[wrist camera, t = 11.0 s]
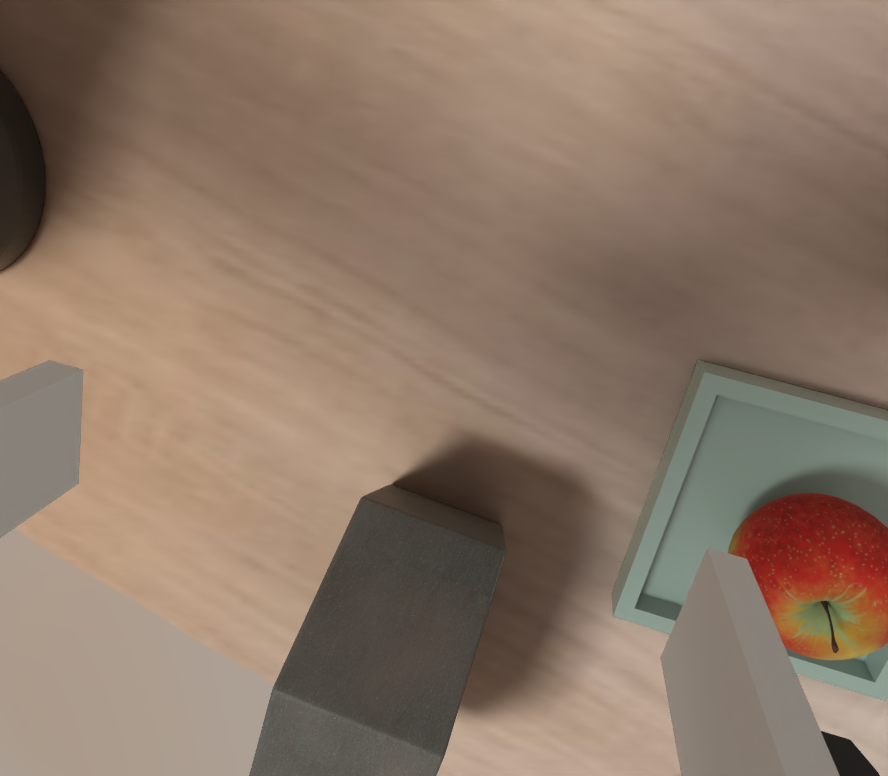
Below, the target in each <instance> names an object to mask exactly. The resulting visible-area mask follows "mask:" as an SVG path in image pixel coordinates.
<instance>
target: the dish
mask: <svg viewBox="0 0 888 776" xmlns="http://www.w3.org/2000/svg"><path fill="white" fill-rule="evenodd" d="M801 493H818V494H825V495H830V496H834V497H838V498H841V499H843V500H846V501H848V502H851V503H853V504H855V505H857V506H859V507H861V508H862V509H864V510H865V511H867V512H869V513H870V514H872V515H873V516H875V517H876V518H877V519H878V520H879V521H880V522H882V523H883V524H884V525H885V526H886V527H887V528H888V410H885V409H881V408H877V407H874V406H870V405H866V404H862V403H859V402H855V401H851V400H847V399H844V398H840V397H836V396H832V395H829V394H825V393H821V392H817V391H814V390H810V389H806V388H802V387H798V386H795V385H791V384H787V383H783V382H780V381H776V380H772V379H768V378H765V377H761V376H757V375H753V374H750V373H746V372H742V371H738V370H734V369H731V368H727V367H723V366H719V365H716V364H712V363H708V362H704V361H701V360H698V361H697V364H696V366H695V369H694V372H693V374H692V377H691V380H690V383H689V385H688V388H687V391H686V393H685V396H684V399H683V402H682V404H681V407H680V410H679V412H678V415H677V418H676V421H675V423H674V426H673V429H672V431H671V434H670V437H669V440H668V442H667V445H666V448H665V450H664V453H663V456H662V459H661V461H660V464H659V467H658V469H657V472H656V475H655V478H654V480H653V483H652V486H651V488H650V491H649V494H648V497H647V499H646V502H645V505H644V508H643V510H642V513H641V516H640V518H639V521H638V524H637V527H636V529H635V532H634V535H633V537H632V540H631V543H630V546H629V548H628V551H627V554H626V556H625V559H624V562H623V565H622V567H621V570H620V573H619V575H618V578H617V581H616V584H615V586H614V589H613V592H612V609H613V617H616V618H619V619H622V620H625V621H628V622H632V623H635V624H638V625H641V626H645V627H648V628H651V629H654V630H657V631H661V632H664V633H667V634H671V632H672V630H673V627H674V625H675V623H676V620H677V618H678V616H679V613H680V611H681V609H682V606H683V604H684V602H685V599H686V597H687V595H688V592H689V590H690V588H691V585H692V583H693V581H694V578H695V576H696V574H697V571H698V569H699V567H700V564H701V562H702V560H703V557H704V555H705V553H706V550H707V548H711V549H714V550H718V551H721V552H725V553H728V550H729V546H730V543H731V540H732V537H733V535H734V533H735V531H736V530H737V528H738V527H739V526H740V524H741V523H742V522H743V521H744V520H745V519H746V518H747V517H748V516H749V515H750V514H751V513H753V512H754V511H755V510H757V509H758V508H760V507H762V506H763V505H765V504H767V503H769V502H771V501H773V500H776V499H778V498H781V497H785V496H788V495H793V494H801ZM785 649H786V651H787V654H788V656H789V658H790V661H791V663H792V665H793V668H794V670H795V672H796V674H799V675H802V676H806V677H809V678H812V679H815V680H818V681H822V682H825V683H828V684H831V685H835V686H838V687H841V688H844V689H847V690H851V691H854V692H857V693H860V694H864V695H867V696H870V697H873V698H876V699H880V700H883V701H886V699H887V698H888V643H887V644H886V645H885V646H883V647H882V648H880V649H878V650H876V651H874V652H872V653H870V654H867V655H864V656H861V657H857V658H852V659H845V660H821V659H814V658H810V657H807V656H803V655H800V654H798V653H796V652H793V651H791V650H789V649H787V648H786V647H785Z"/></svg>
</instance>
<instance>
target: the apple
mask: <svg viewBox="0 0 888 776" xmlns="http://www.w3.org/2000/svg"><path fill="white" fill-rule="evenodd" d="M728 554H732V555H735V556H739V557H742V558H746V559H747V560H748V562H749V565H750V567H751V569H752V572H753V574H754V576H755V579H756V581H757V583H758V586H759V588H760V590H761V593H762V595H763V598H764V600H765V602H766V605H767V607H768V609H769V612H770V614H771V616H772V619H773V621H774V623H775V626H776V628H777V630H778V633H779V635H780V637H781V640H782V642H783V644H784V647H786V648H787V649H789V650H791V651H793V652H796V653H798V654H800V655H803V656H807V657H810V658H814V659H821V660H845V659H852V658H857V657H861V656H864V655H867V654H870V653H872V652H874V651H876V650H878V649H880V648H882V647H883V646H885V645H886V644H887V643H888V528H887V527H886V526H885V525H884V524H883V523H882V522H880V521H879V520H878V519H877V518H876V517H875V516H873V515H872V514H870V513H869V512H867V511H865V510H864V509H862V508H861V507H859V506H857V505H855V504H853V503H851V502H848V501H846V500H843V499H841V498H838V497H834V496H830V495H825V494H818V493H801V494H793V495H788V496H785V497H781V498H778V499H776V500H773V501H771V502H769V503H767V504H765V505H763V506H762V507H760V508H758V509H757V510H755V511H754V512H753V513H751V514H750V515H749V516H748V517H747V518H746V519H745V520H744V521H743V522H742V523H741V524H740V526H739V527H738V528H737V530H736V531H735V533H734V535H733V537H732V540H731V543H730V546H729V550H728Z"/></svg>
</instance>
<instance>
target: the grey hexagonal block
mask: <svg viewBox="0 0 888 776" xmlns="http://www.w3.org/2000/svg"><path fill="white" fill-rule="evenodd" d="M505 553H506V548H505V541H504V533H503V526H502V525H499V524H497V523H494V522H491V521H489V520H486V519H483V518H480V517H478V516H475V515H472V514H470V513H467V512H464V511H461V510H459V509H456V508H453V507H451V506H448V505H445V504H443V503H440V502H437V501H434V500H432V499H429V498H426V497H424V496H421V495H418V494H415V493H413V492H410V491H407V490H405V489H402V488H399V487H397V486H394V485H388V486H385V487H383V488H381V489H379V490H376V491H374V492H372V493H370V494H368V495H365V496H363V497H362V498H361V499H360V501H359V503H358V505H357V508H356V510H355V512H354V514H353V516H352V518H351V520H350V523H349V525H348V527H347V529H346V531H345V533H344V536H343V538H342V540H341V542H340V544H339V546H338V549H337V551H336V553H335V555H334V557H333V559H332V562H331V564H330V566H329V568H328V570H327V572H326V574H325V577H324V579H323V581H322V583H321V585H320V587H319V590H318V592H317V594H316V596H315V598H314V600H313V603H312V605H311V607H310V609H309V611H308V613H307V616H306V618H305V620H304V622H303V624H302V626H301V628H300V631H299V633H298V635H297V637H296V639H295V641H294V644H293V646H292V648H291V650H290V652H289V654H288V657H287V659H286V661H285V663H284V665H283V667H282V670H281V672H280V674H279V676H278V678H277V680H276V683H275V685H274V687H273V690H272V693H271V697H270V700H269V704H268V708H267V712H266V715H265V719H264V723H263V727H262V730H261V734H260V738H259V742H258V745H257V749H256V753H255V757H254V761H253V764H252V768H251V771H250V775H249V776H436V775H437V773H438V770H439V768H440V765H441V763H442V761H443V758H444V755H445V752H446V749H447V746H448V742H449V739H450V736H451V732H452V729H453V726H454V722H455V719H456V716H457V713H458V709H459V706H460V703H461V699H462V696H463V693H464V689H465V686H466V683H467V679H468V676H469V673H470V670H471V666H472V663H473V660H474V656H475V653H476V650H477V646H478V643H479V640H480V636H481V633H482V630H483V627H484V623H485V620H486V617H487V613H488V610H489V607H490V603H491V600H492V597H493V594H494V590H495V587H496V584H497V580H498V577H499V574H500V570H501V567H502V564H503V560H504V557H505Z"/></svg>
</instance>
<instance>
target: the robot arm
mask: <svg viewBox="0 0 888 776" xmlns="http://www.w3.org/2000/svg"><path fill="white" fill-rule="evenodd" d="M44 195H45V174H44V164H43V157H42V152H41V148H40V144H39V140H38V137H37V134H36V131H35V128H34V125H33V123H32V120H31V118H30V116H29V114H28V111H27V109H26V107H25V106H24V104H23V102H22V100H21V98H20V97H19V95H18V93H17V92H16V90H15V89H14V87H13V86H12V84H11V83H10V82H9V80H8V79H7V78H6V77H5V75H4V74H3V73H2V72H1V71H0V270H2V269H4V268H5V267H7V266H8V265H10V264H11V263H12V262H14V261H15V260H16V259H17V258H18V257H19V256H20V255H21V254H22V253H23V251H24V250H25V249H26V248H27V246H28V245H29V243H30V241H31V240H32V238H33V236H34V234H35V232H36V230H37V227H38V224H39V221H40V218H41V214H42V209H43V204H44ZM82 391H83V369H79V368H76V367H72V366H69V365H65V364H62V363H58V362H55V361H51V360H49V361H46V362H44V363H41V364H39V365H37V366H34V367H32V368H29V369H27V370H25V371H22V372H20V373H18V374H15V375H13V376H10V377H8V378H6V379H3V380H1V381H0V538H1V537H2V536H4V535H5V534H7V533H8V532H9V531H11V530H12V529H14V528H15V527H17V526H18V525H20V524H21V523H22V522H24V521H25V520H27V519H28V518H30V517H31V516H33V515H34V514H35V513H37V512H38V511H40V510H41V509H43V508H44V507H45V506H47V505H48V504H50V503H51V502H53V501H54V500H56V499H57V498H58V497H60V496H61V495H63V494H64V493H66V492H67V491H69V490H70V489H71V488H73V487H74V486H76V485H77V484H79V463H80V439H81V415H82ZM661 663H662V668H663V674H664V680H665V685H666V691H667V697H668V702H669V708H670V713H671V719H672V725H673V730H674V736H675V742H676V747H677V753H678V758H679V764H680V770H681V775H682V776H880V775H879V773H878V772H877V771H876V770H875V768H874V767H873V766H872V765H871V764H870V762H869V761H868V760H867V759H866V758H865V757H864V755H863V754H862V753H861V752H860V751H859V750H858V748H857V747H856V746H855V745H854V744H853V742H852V741H851V740H849V739H846V738H842V737H839V736H836V735H832V734H829V733H826V732H823V731H820V728H819V726H818V724H817V721H816V719H815V717H814V714H813V712H812V710H811V707H810V705H809V703H808V700H807V698H806V696H805V693H804V691H803V689H802V686H801V684H800V682H799V679H798V677H797V675H796V672H795V670H794V668H793V665H792V663H791V661H790V658H789V656H788V654H787V651H786V649H785V647H784V644H783V642H782V640H781V637H780V635H779V633H778V630H777V628H776V626H775V623H774V621H773V619H772V616H771V614H770V612H769V609H768V607H767V605H766V602H765V600H764V598H763V595H762V593H761V590H760V588H759V586H758V583H757V581H756V579H755V576H754V574H753V572H752V569H751V567H750V565H749V562H748V560H747V559H746V558H742V557H739V556H735V555H732V554H728V553H725V552H721V551H718V550H714V549H711V548H707V550H706V553H705V555H704V557H703V560H702V562H701V564H700V567H699V569H698V571H697V574H696V576H695V578H694V581H693V583H692V585H691V588H690V590H689V592H688V595H687V597H686V599H685V602H684V604H683V606H682V609H681V611H680V613H679V616H678V618H677V620H676V623H675V625H674V627H673V630H672V632H671V634H670V637H669V639H668V641H667V644H666V646H665V648H664V651H663V653H662V655H661Z"/></svg>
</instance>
